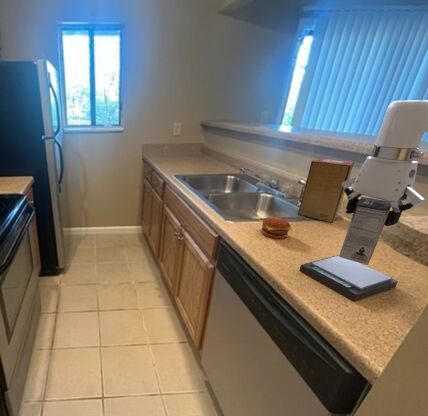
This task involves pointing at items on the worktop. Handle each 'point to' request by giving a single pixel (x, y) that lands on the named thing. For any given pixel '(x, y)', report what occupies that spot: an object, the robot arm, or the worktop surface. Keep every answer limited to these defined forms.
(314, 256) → the worktop surface
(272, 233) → the hamburger
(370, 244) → the coffee box
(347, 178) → the food packaging
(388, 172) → the robot arm
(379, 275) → the scale
